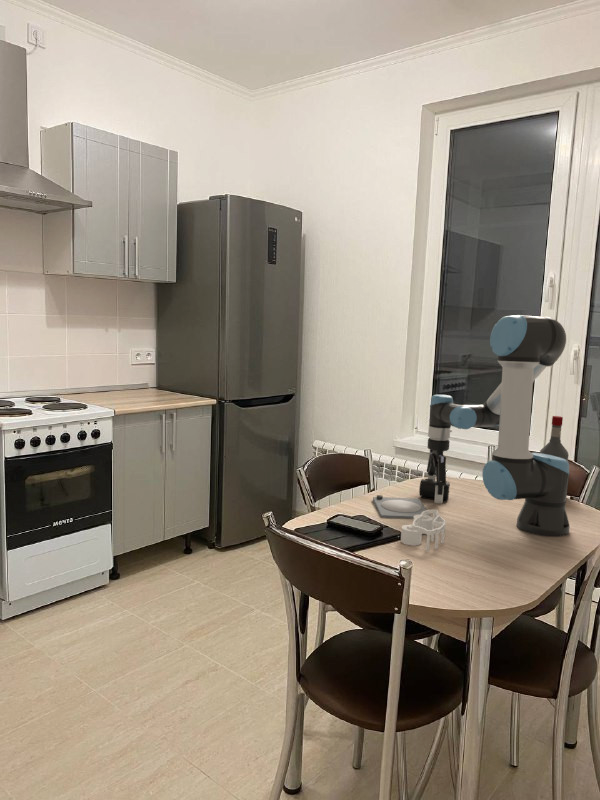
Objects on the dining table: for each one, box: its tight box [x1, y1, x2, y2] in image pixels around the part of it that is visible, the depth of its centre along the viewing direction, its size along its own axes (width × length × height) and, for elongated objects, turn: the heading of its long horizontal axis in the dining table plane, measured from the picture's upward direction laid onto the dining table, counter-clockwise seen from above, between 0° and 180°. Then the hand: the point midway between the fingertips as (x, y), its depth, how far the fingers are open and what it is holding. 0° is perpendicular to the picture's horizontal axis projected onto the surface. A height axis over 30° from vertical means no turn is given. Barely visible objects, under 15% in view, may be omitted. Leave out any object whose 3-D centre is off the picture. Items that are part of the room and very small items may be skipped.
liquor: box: [538, 415, 569, 462], centre depth 232 cm, size 9×9×30 cm
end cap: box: [418, 478, 451, 502], centre depth 222 cm, size 10×7×7 cm
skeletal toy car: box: [400, 509, 447, 552], centre depth 178 cm, size 20×11×7 cm, turn 153°
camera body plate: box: [372, 494, 432, 520], centre depth 207 cm, size 20×16×2 cm
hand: (434, 498), depth 223 cm, fingers open, 11 cm apart
